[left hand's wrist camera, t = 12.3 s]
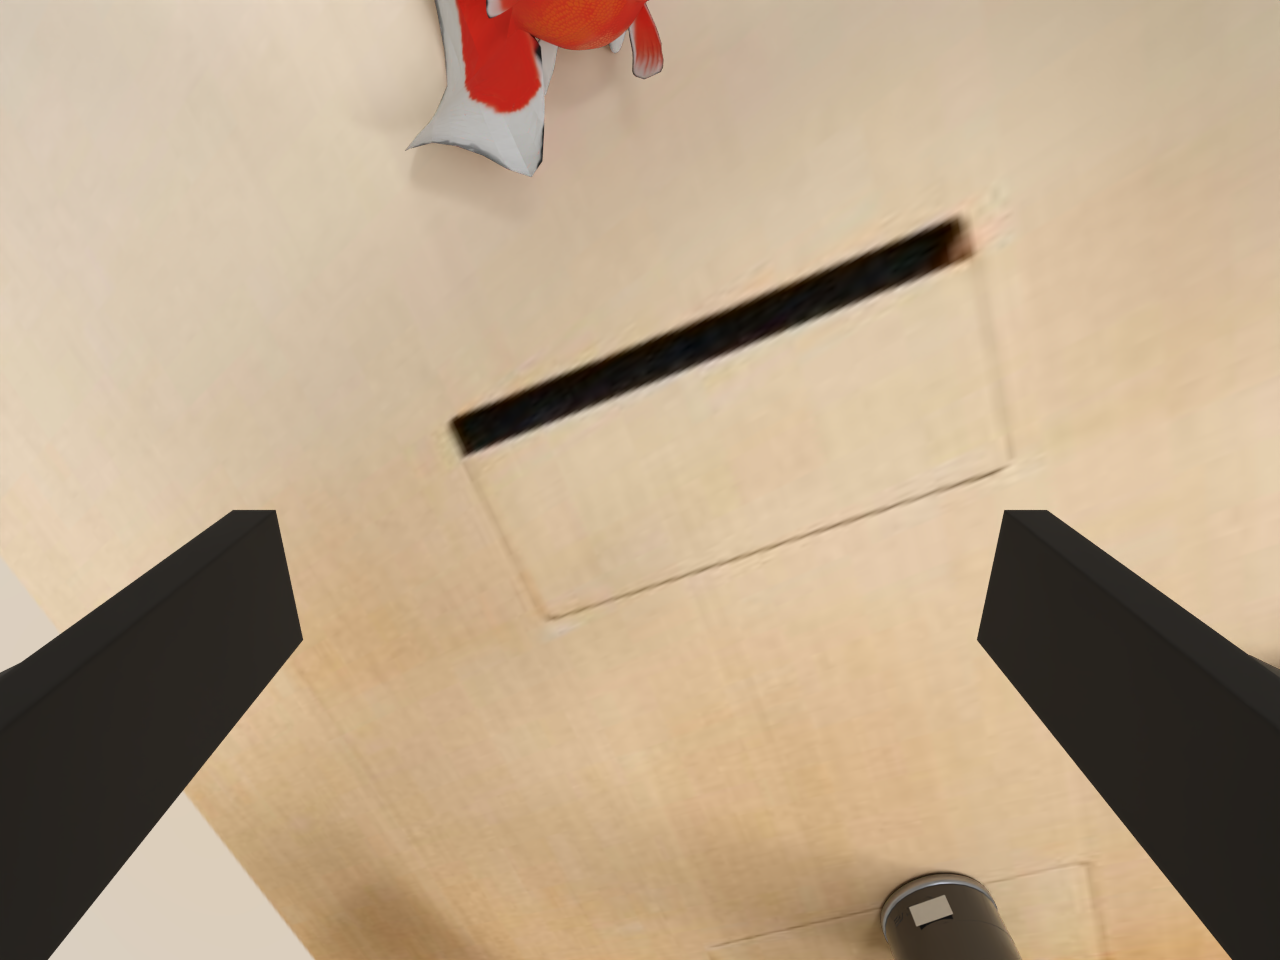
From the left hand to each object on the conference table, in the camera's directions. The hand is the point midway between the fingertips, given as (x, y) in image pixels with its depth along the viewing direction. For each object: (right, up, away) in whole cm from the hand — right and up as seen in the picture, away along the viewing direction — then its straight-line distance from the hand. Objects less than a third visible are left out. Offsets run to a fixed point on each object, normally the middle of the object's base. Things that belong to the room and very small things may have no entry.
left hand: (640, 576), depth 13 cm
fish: (-5, +23, +22) cm, 33 cm away
